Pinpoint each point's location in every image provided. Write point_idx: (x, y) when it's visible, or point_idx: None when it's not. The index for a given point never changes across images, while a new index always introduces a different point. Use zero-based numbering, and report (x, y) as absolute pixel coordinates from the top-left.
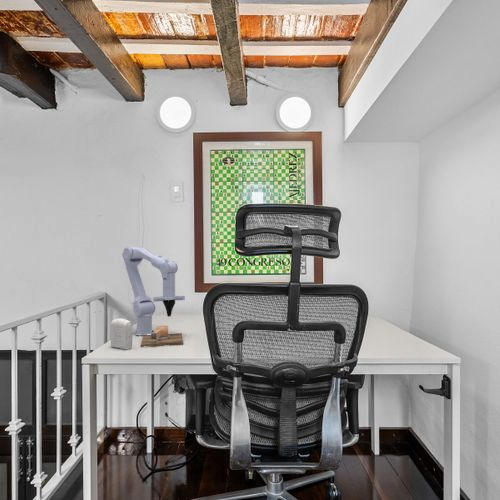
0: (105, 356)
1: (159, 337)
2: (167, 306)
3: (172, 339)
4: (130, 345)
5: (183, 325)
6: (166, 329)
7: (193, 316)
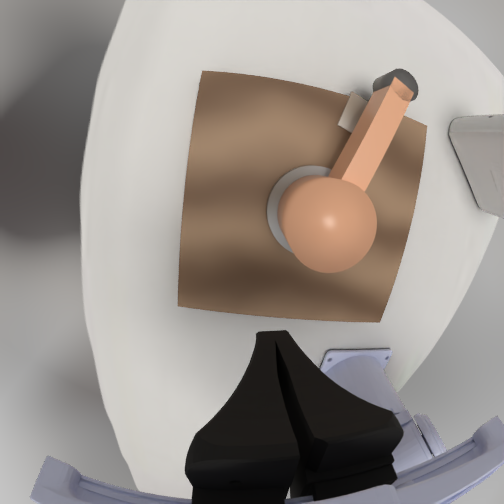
0: (496, 77)
1: None
2: (327, 398)
3: (255, 155)
4: (460, 120)
5: (172, 443)
6: (304, 185)
7: (150, 488)
